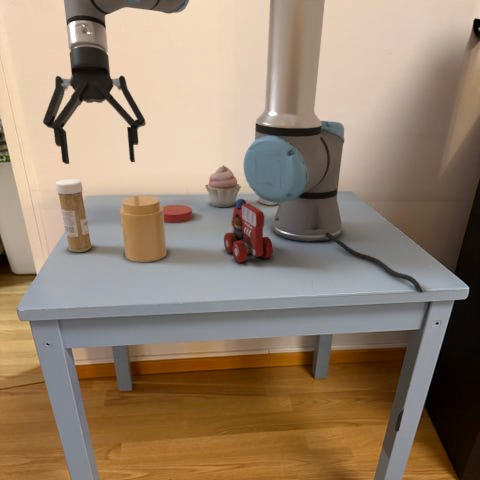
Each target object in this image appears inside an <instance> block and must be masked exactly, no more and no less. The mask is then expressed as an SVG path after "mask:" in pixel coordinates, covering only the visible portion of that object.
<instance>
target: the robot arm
mask: <svg viewBox="0 0 480 480" xmlns="http://www.w3.org/2000/svg"><path fill="white" fill-rule="evenodd" d="M189 2H190V0H63V3H64V13H65V21H66V33H67V42H68V49H69V61H70V71H71V76H70V78H62V77H61V76H60V75H56V76H55V82H54V83H55V87H54V91H53V93H52V96H51V98H50V101H49V103H48V107H47V108H46V112H45V114H44V117H43V120H42V123H43V124H44V126H45V127H47V128H48V129H52V130H53V134H54V135H53V136H54V143H55V145H56V146H57V147H59V148H60V151H61V152H60V153H61V161H62V163H64V164H65V165H70V157H69V156H70V155H69V149H68V147H69V146H68V138H67V131H66V130H65V129H64V127H65V126H66V124H67V123H68V121H69V120H70V119H71V117H72V116H73V114H74V113H75V112H76V110H77V109H78V107H80V106H81V104H82V103H83V102H85V103H86V104H91V103H98V104H102V103H103V102H104V101H107V103H108V104H109V105H110V106H111V107H112V108H113V109H114V110H115V111H116V112H117V113H118V114H119V116H120V117H121V118H122V119H123V120H124V121H125V122H126V123H127V124H128V126H127V127H126V129H127V141H128V154H129V162H131V163H136V159H135V158H136V157H135V147H134V146H138V145H139V143H140V142H139V131H138V130H139V128H141V127H145V126H146V124H147V123H146V119H145V117H144V115H143V114H142V112H141V110H140V108H139V106H138V105H137V103H136V101H135V99H134V98H133V95H132V94H131V92H130V91H129V88H128V84H127V80H126V78H125V76H124V75H120V76H119V77H117V78H112V77H111V71H110V70H111V69H110V60H109V59H110V58H109V54H108V52H109V50H108V49H109V48H108V47H109V46H108V37H107V25H106V16H107V15H111V14H112V13H115V12H117V11H119V10H121V9H125V8H129V9H137V10H146V11H153V12H159V13H160V12H161V13H164V14H168V15H170V14H177V13H178V14H179V13H181V12H183V11H185V9H186V8H187V6H188V4H189ZM325 3H326V0H269V11H268V12H269V13H268V15H269V16H268V35H267V36H268V37H267V53H266V55H267V56H266V60H267V61H266V75H265V78H266V79H265V97H264V98H265V99H264V110H263V112H262V113H261V114H260V115H259V116H258V117H257V119H256V120H255V128H254V129H255V131H254V141H253V142H252V143H251V144H250V146H249V147H248V148H247V149H246V151H245V153H244V157H243V165H242V166H243V174H244V177H245V180H246V182H247V184H248V186H249V187H250V188H251V189H252V191H253V192H254V193H255V195H256V196H258V197H261V198H262V199H264V200H266V201H269V202H274V203H279V204H278V207H277V209H276V212H275V215H274V218H273V221H272V231H273V232H274V233H275V234H276V235H278V236H279V237H281V238H284V239H287V240H292V241H295V242H296V241H298V242H304V243H305V242H306V243H308V242H309V243H312V242H313V243H316V242H317V243H318V242H327V241H332V242H334V243H335V244H337V245H338V246H340V247H341V248H342V249H344V250H345V251H346V252H348V253H349V254H351V255H352V256H355V257H357V258H360V259H363V260H367V261H369V262H372V263H374V264H376V265H378V266H379V267H381V268H382V269H383V270H384V271H386V272H387V273H388V274H389V275H391V276H393V277H394V278H398V279H403V280H406V281H407V282H410V283H411V284H412V285H413V286H414V288H415V291H417V292H418V293H424V292H423V289H422V287H421V285H420V283H419V282H418V281H417V279H415V277H413V276H411V275H408V274H407V273H406V274H405V273H401V272H398V271H395V270H393V269H391V268H390V267H389V266H388V265H387V264H385V263H384V262H383V261H381V260H380V259H378V258H377V257H375V256H374V257H373V256H370V255H369V254H368V255H367V254H365V253H361V252H358V251H356V250H354V249H353V248H351V247H349V246H348V245H346V244H345V243H344V242H342V241H341V240H340V239H338V238H339V237H340V235H342V225H343V224H342V219H341V213H340V208H339V203H338V189H339V182H340V174H341V166H342V158H343V148H344V144H345V126H344V124H342V123H341V122H338V121H329V120H328V121H327V120H320V118H319V117H318V116H317V114H316V113H315V107H316V95H317V85H318V75H319V67H320V66H319V65H320V55H321V46H322V45H321V44H322V34H323V25H324V24H323V23H324V15H325V13H324V12H325ZM69 87H71V88H72V89H73V90H74V91H73V92H72V94H71V95H70V99H69V100H68V101H67V102H66V104H65V106H64V107H63V108H62V110H61V111H60V112H59V110H60V107H61V105H62V102H63V99H64V96H65V92H66V91H68V89H69ZM114 87H116V88H117V90H118V91H121V92H122V94H123V97H124V99H125V100H126V102H127V103H128V105H129V107H130V109H131V110H132V113H133V115H134V116H135V117H136V119H134V118H133V117H132V116H131V115H130V113H128V111H126V109H125V108H124V107H123V106H122V105H121V104H120V103H119V102H118V101H117V100H116V99H115V97H114V96H113V95H112V93H111V91H112V89H113V88H114ZM58 113H59V114H58ZM404 411H405V408H402V410H401V411H400V412H399V414H398V415H397V419H396V423H395V428H394V431H395V432H400V428H401V424H402V420H403V415H404Z"/></svg>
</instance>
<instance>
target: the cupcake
mask: <svg viewBox="0 0 480 480" xmlns="http://www.w3.org/2000/svg"><path fill="white" fill-rule="evenodd" d="M204 187H205V189H206V191H207V193H208V197H209V201H210V204H211V205H212V206H214V207H217V208H231V207H233V206H235V205H236V201H237V197H238V194H239V192H240V190H241V188H242V186H241V185H240V184H239V183H238V179H237V178H236V176H235V175H234V172H233V171H232V170H231V169H230V168H229V167H227V166H226V165H221V166H219V167H218V169H216V170H215V172H214V173H212V174H210V176H209V179H208V183H207V184H205V185H204Z"/></svg>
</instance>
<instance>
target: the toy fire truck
mask: <svg viewBox="0 0 480 480" xmlns="http://www.w3.org/2000/svg"><path fill="white" fill-rule="evenodd" d="M264 226H265V214H264V211H263V210H261V209H259V208H257V207H256V206H254V205H252V204H251V203H247V201H246V200H245V199H243V198H238V199H236V201H235V206H234V208H233V212H232V219H231V232H225V233H224V236H223V244H224V249H225V251H226V253H228V254H232V257H233V259H234V261H235V262H236V263H245V262H246V261H247V259H248V256H249V257H254V258H259V257H260V258H262V259H265V260H266V259H270V258H272V256H273V252H274V246H273V242H272V240H271V238H270V237H269V236H264Z"/></svg>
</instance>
